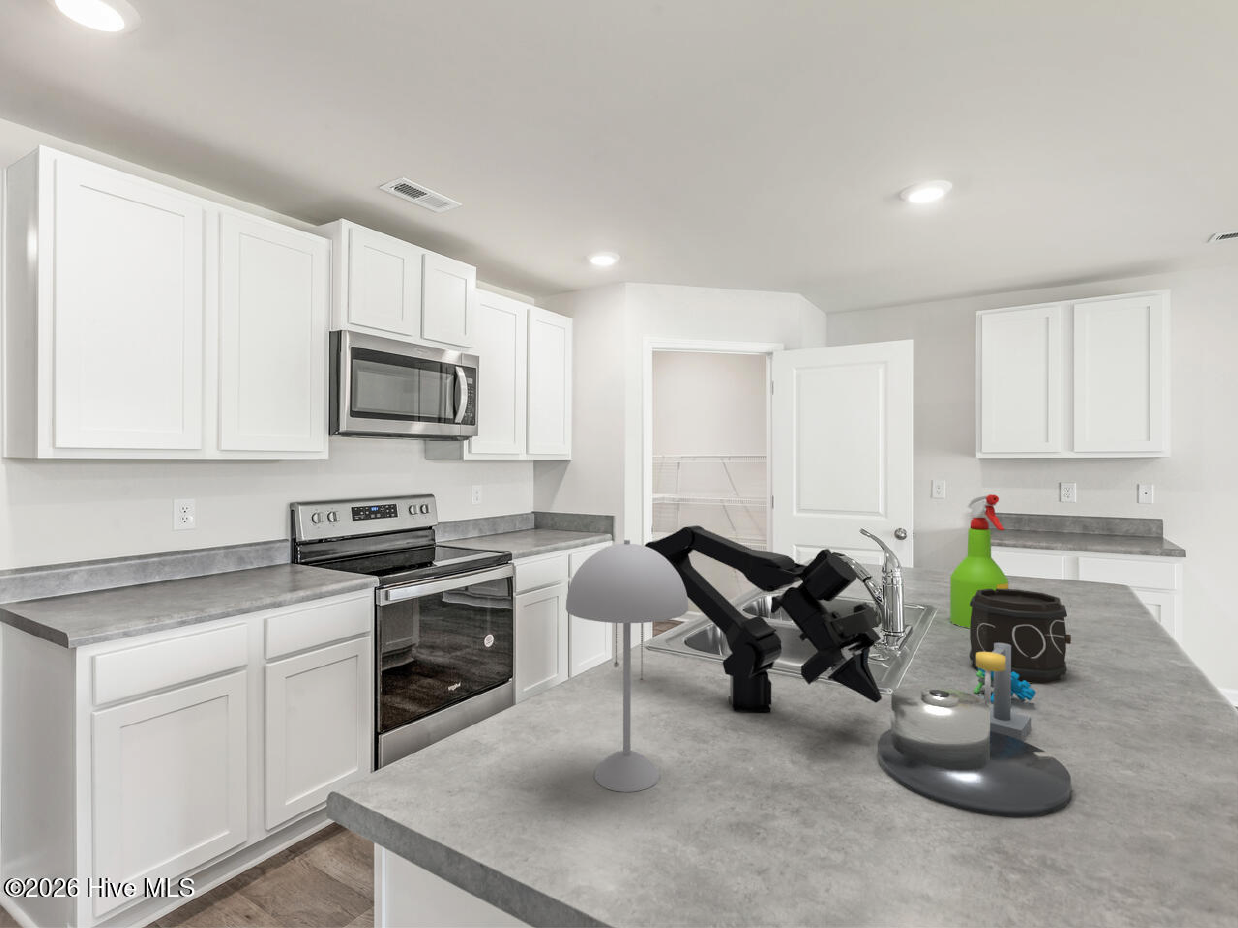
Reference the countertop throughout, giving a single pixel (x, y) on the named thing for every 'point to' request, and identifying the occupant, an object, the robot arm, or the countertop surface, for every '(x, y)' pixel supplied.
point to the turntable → (987, 779)
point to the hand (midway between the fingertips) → (879, 700)
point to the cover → (940, 726)
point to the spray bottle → (976, 562)
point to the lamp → (627, 631)
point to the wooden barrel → (1021, 631)
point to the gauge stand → (1002, 692)
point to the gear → (1016, 686)
